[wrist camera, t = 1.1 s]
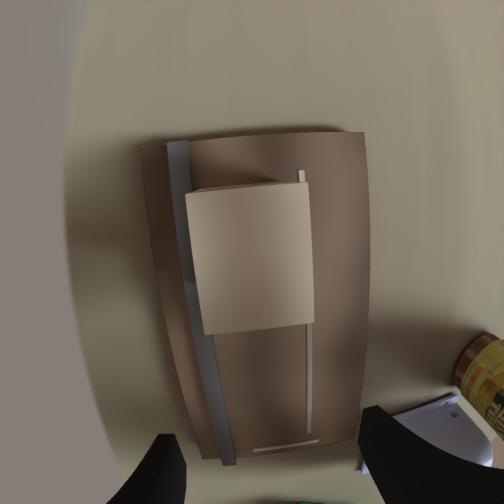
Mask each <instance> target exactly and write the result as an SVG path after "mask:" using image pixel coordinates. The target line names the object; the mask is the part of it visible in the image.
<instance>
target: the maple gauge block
mask: <svg viewBox="0 0 504 504" xmlns="http://www.w3.org/2000/svg"><path fill="white" fill-rule="evenodd" d="M185 198H186V207H187V215H188V224H189V232H190V240H191V247H192V255H193V262H194V269H195V276H196V283H197V290H198V296H199V303H200V309H201V315H202V321H203V327H204V333H205V335H211V334H222V333H233V332H242V331H252V330H260V329H269V328H277V327H284V326H292V325H299V324H306V323H313V322H314V286H313V258H312V237H311V219H310V203H309V189H308V183H307V182H284V181H277V182H264V183H253V184H242V185H232V186H222V187H213V188H204V189H199V190H196V191H193V192H190V193H187V194H185Z"/></svg>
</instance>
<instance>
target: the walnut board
mask: <svg viewBox="0 0 504 504" xmlns="http://www.w3.org/2000/svg"><path fill="white" fill-rule="evenodd" d="M140 151H141V163H142V173H143V183H144V192H145V201H146V209H147V217H148V224H149V231H150V238H151V245H152V251H153V258H154V264H155V270H156V275H157V281H158V287H159V292H160V297H161V302H162V307H163V312H164V317H165V322H166V327H167V331H168V336H169V340H170V345H171V349H172V353H173V357H174V362H175V366H176V370H177V374H178V378H179V381H180V385H181V389H182V393H183V396H184V400H185V404H186V407H187V411H188V414H189V418H190V421H191V424H192V428H193V431H194V434H195V437H196V441H197V444H198V447H199V450H200V453H201V456H202V459H221V460H222V464H223V466H228V465H236V457H248V456H257V455H266V454H274V453H281V452H288V451H294V450H300V449H306V448H311V447H316V446H321V445H326V444H331V443H335V442H340V441H344V440H348V439H352V438H354V436H355V431H356V424H357V418H358V412H359V405H360V397H361V390H362V381H363V373H364V363H365V353H366V341H367V328H368V311H369V288H370V212H369V189H368V173H367V159H366V147H365V137H364V132H305V133H281V134H264V135H250V136H238V137H227V138H217V139H208V140H200V141H192V142H189V141H188V140H183V141H176V142H169V143H167V145H163V146H157V147H151V148H145V149H140ZM277 181H284V182H307V183H308V189H309V203H310V219H311V237H312V258H313V286H314V322H313V323H306V324H299V325H292V326H284V327H277V328H269V329H260V330H252V331H242V332H233V333H222V334H211V335H205V333H204V327H203V321H202V315H201V309H200V303H199V296H198V290H197V283H196V276H195V269H194V262H193V255H192V247H191V240H190V232H189V224H188V215H187V207H186V198H185V194H187V193H190V192H193V191H196V190H199V189H204V188H213V187H222V186H232V185H242V184H253V183H264V182H277Z"/></svg>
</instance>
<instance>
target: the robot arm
mask: <svg viewBox="0 0 504 504" xmlns="http://www.w3.org/2000/svg"><path fill="white" fill-rule="evenodd" d="M457 400H458V395H457V394H453V395H450V396H448V397H446V398H443V399H440V400H438V401H435V402H433V403H430V404H427V405H425V406H422V407H419V408H416V409H413V410H410V411H407V412H404V413H401V414H398V415H395V416H391V415H389V414H388V413H387V412H386V411H384V410H383V409H382V408H381V407H379V406H378V405H376V406H372V407H368V408H365V409H363V413H362V420H361V426H360V431H359V437H358V445H359V448H360V451H361V454H362V457H363V463H362V467H361V474H368V473H370V474H371V476H372V478H373V480H374V482H375V484H376V486H377V488H378V490H379V492H380V494H381V496H382V498H383V500H384V502H385V504H504V469H499V468H493V467H491V466H492V462H493V452H492V448H491V444H490V442H489V440H488V438H487V437H486V435H485V434H484V433H483V432H482V431H481V429H480V428H479V427H478V426H477V425H476V424H475V423H474V422H473V420H472V419H471V418H470V417H469V416H468V415H467V414H466V413H465V412H464V411H463V409H462V408H461V407H460V406H459V405H458V404H457ZM185 492H186V463H185V460H184V458H183V455H182V452H181V450H180V447H179V445H178V442H177V439H176V437H175V434H158V435H157V437H156V439H155V440H154V442H153V443H152V445H151V447H150V448H149V450H148V452H147V453H146V455H145V456H144V458H143V459H142V461H141V462H140V464H139V465H138V466H137V468H136V469H135V471H134V472H133V473H132V475H131V476H130V477H129V479H128V480H127V481H126V482H125V484H124V485H123V486H122V487H121V489H120V490H119V491H118V492H117V493H116V494H115V495H114V496H113V497H112V498H111V499H110V501H108V502H107V503H106V504H184V500H185Z"/></svg>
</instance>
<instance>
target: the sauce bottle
mask: <svg viewBox="0 0 504 504" xmlns="http://www.w3.org/2000/svg"><path fill="white" fill-rule="evenodd" d="M454 382H455V384H456V386H457V388H458V389H459V390H460V391H461V394H462V396H463V397H464V398H465V399H466V400H467V401H468V402H469V403H470V404H471V405H472V406H473V408H474V409H475V410H476V411H477V412H478V413H479V414H480V415H481V416H482V417H483V418H484V420H485V421H486V422H487V423H488V424H489V425H490V426H491V427H492V429H494V431H495V432H496V433H497V434H498V435H499V436H500V437H501V438H502V440H503V441H504V340H500V339H499V338H498V337H496V336H495V335H493V334H483V335H482V336H480V337H478V338H477V339H476V340H475V341H473V342H472V343H471V344H470V345H469V346H468V347H467V348H466V349H465V351H464V353H463V354H462V356H461V357H460V359H459V362H458V364H457V366H456V368H455V373H454Z"/></svg>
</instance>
